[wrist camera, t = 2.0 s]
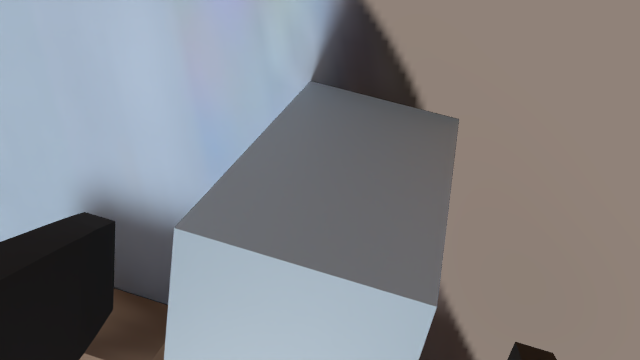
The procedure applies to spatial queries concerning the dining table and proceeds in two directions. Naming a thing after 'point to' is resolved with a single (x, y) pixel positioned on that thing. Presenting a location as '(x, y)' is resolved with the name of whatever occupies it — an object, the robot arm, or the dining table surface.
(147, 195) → the dining table surface
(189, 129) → the dining table surface
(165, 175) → the dining table surface
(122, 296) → the socket block
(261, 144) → the peg
